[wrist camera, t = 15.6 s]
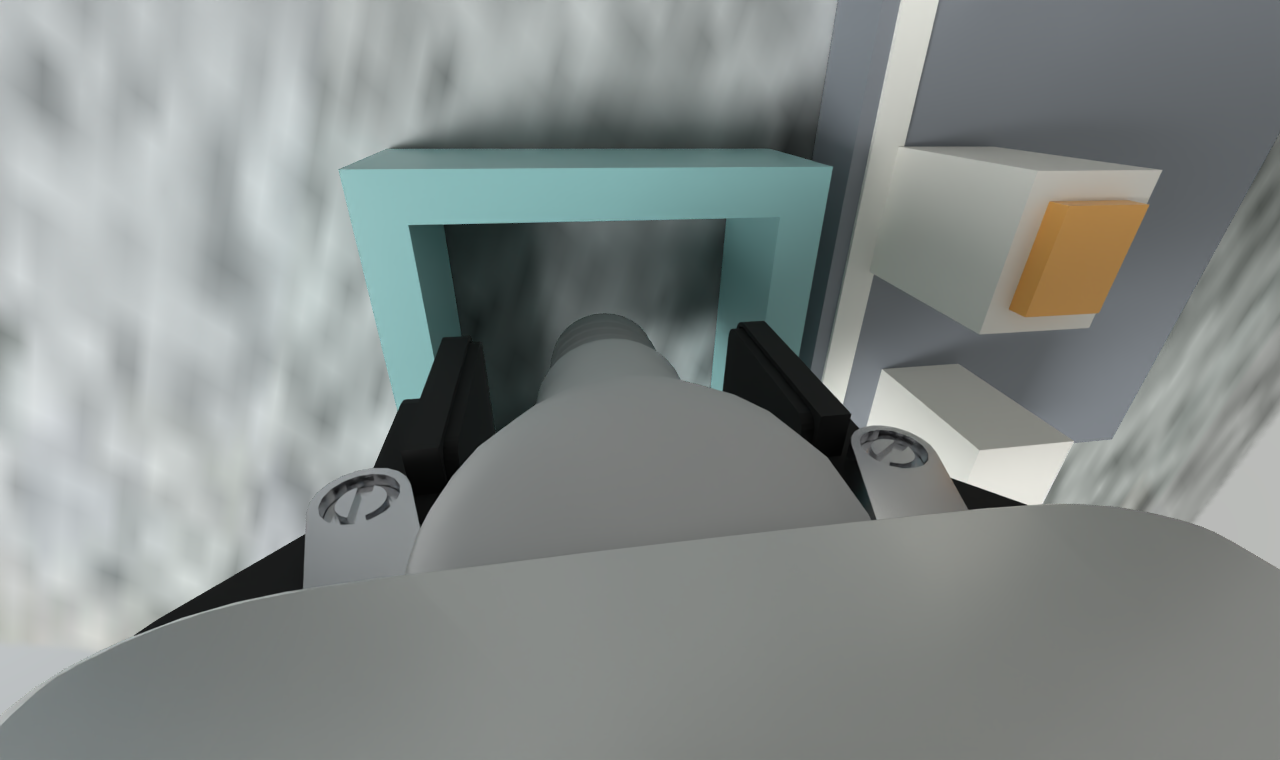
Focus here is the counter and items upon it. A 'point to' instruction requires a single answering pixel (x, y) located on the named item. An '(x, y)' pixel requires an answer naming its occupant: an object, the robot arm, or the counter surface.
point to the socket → (571, 192)
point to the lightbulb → (626, 464)
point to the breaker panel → (1044, 123)
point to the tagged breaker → (1009, 234)
